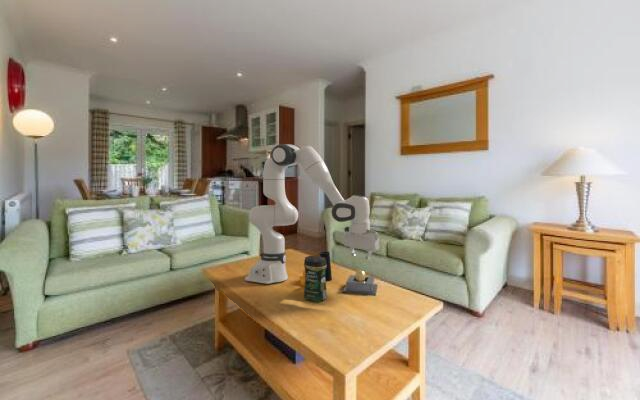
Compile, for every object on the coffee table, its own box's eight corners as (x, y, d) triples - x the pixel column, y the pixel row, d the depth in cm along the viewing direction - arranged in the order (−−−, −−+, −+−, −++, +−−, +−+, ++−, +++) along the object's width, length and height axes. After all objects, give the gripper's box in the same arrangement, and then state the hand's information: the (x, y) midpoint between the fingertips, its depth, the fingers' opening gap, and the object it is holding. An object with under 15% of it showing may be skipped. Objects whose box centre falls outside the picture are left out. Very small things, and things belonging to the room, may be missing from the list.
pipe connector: (314, 286, 143) (312, 256, 142) (309, 283, 148) (307, 255, 147) (333, 280, 149) (331, 252, 148) (328, 278, 154) (326, 250, 153)
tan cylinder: (355, 289, 134) (355, 272, 134) (356, 286, 138) (356, 269, 138) (364, 289, 133) (364, 272, 133) (365, 287, 137) (365, 270, 137)
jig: (342, 292, 131) (342, 282, 131) (347, 283, 145) (347, 274, 145) (375, 295, 128) (375, 284, 128) (377, 285, 141) (377, 276, 141)
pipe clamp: (299, 282, 148) (299, 270, 148) (307, 282, 149) (307, 269, 149) (305, 289, 136) (305, 276, 136) (313, 289, 138) (313, 275, 138)
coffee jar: (301, 299, 123) (300, 256, 123) (311, 294, 130) (311, 253, 130) (319, 303, 118) (319, 259, 118) (329, 298, 125) (329, 255, 124)
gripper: (382, 230, 130) (382, 260, 130) (349, 226, 146) (350, 253, 146) (373, 231, 126) (373, 262, 126) (341, 227, 142) (341, 255, 142)
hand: (360, 257), depth 136 cm, fingers open, 8 cm apart
